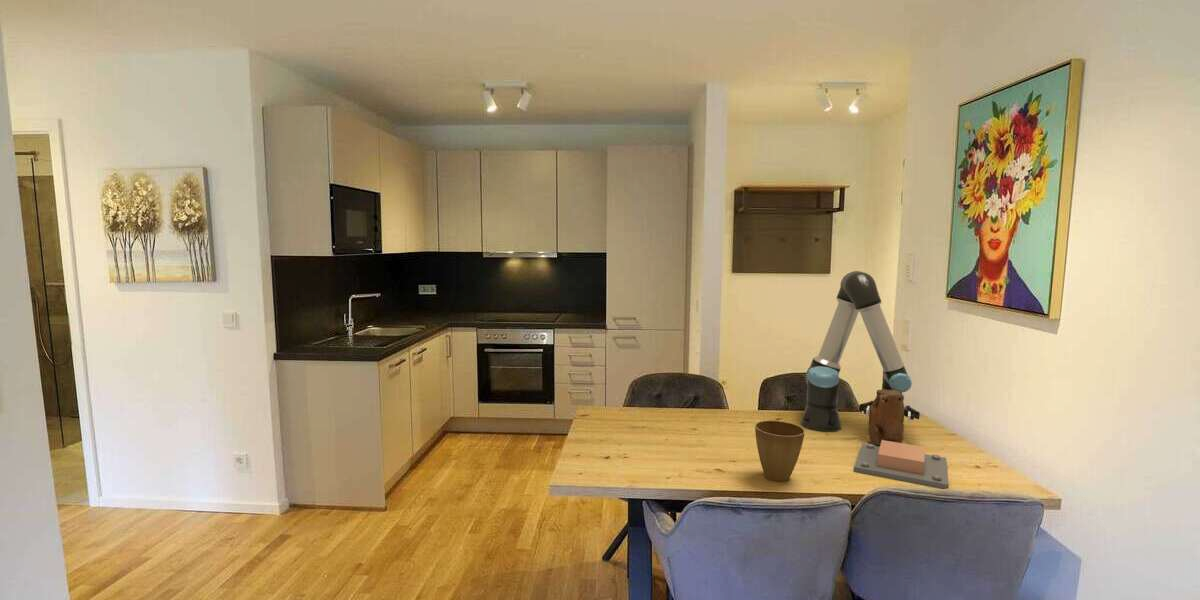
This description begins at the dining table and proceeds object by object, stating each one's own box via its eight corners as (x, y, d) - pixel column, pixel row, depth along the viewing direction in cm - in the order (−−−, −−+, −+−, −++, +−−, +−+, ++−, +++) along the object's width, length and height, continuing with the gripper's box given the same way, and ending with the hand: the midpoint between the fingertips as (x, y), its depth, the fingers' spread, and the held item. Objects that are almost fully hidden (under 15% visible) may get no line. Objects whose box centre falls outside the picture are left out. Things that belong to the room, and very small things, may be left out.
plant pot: (750, 482, 170) (752, 431, 169) (755, 465, 184) (757, 418, 183) (802, 490, 165) (804, 438, 164) (803, 472, 179) (805, 423, 178)
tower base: (853, 471, 180) (854, 454, 180) (861, 447, 202) (862, 432, 202) (948, 489, 167) (949, 471, 167) (945, 461, 189) (946, 446, 189)
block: (893, 440, 211) (896, 388, 209) (904, 447, 203) (908, 393, 201) (865, 440, 210) (867, 388, 208) (875, 447, 203) (878, 393, 201)
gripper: (925, 417, 216) (926, 432, 198) (855, 407, 228) (850, 421, 210) (927, 398, 215) (927, 411, 197) (856, 389, 228) (851, 401, 209)
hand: (887, 416), depth 204 cm, fingers open, 13 cm apart
